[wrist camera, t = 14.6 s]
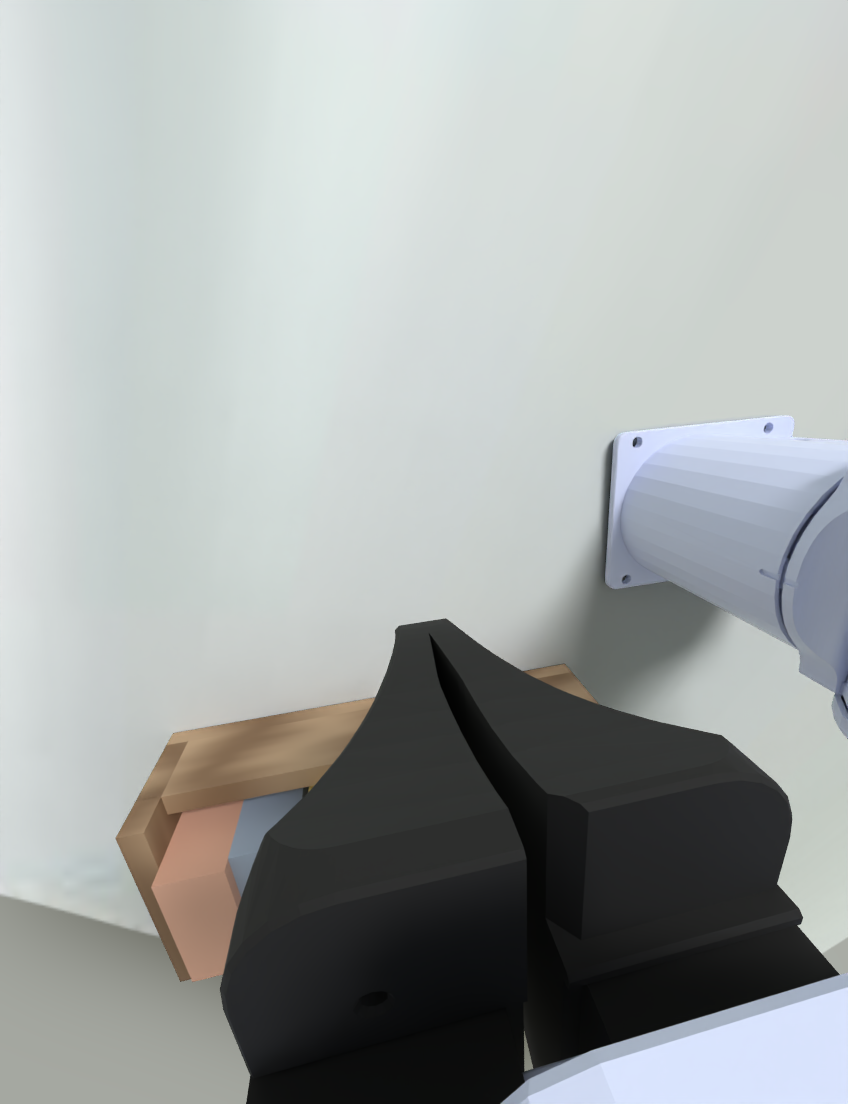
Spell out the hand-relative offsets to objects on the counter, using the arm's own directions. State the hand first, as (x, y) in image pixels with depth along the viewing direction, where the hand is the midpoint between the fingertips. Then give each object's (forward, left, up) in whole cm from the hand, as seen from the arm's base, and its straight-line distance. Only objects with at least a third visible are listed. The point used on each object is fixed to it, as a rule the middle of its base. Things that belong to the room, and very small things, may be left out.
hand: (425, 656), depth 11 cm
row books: (+8, +13, -9) cm, 18 cm away
